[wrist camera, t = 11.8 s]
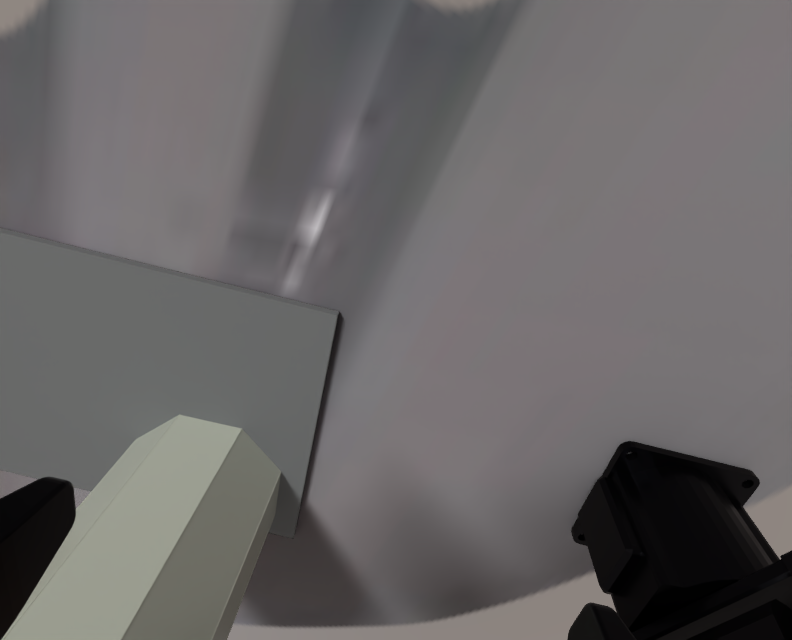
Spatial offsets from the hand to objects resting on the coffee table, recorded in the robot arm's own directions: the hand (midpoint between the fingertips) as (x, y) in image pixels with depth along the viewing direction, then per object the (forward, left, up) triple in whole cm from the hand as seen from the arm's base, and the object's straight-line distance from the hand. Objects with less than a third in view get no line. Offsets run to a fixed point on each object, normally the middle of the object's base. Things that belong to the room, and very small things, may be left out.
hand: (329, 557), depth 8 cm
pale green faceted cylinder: (+7, +13, -13) cm, 19 cm away
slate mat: (+10, +9, -13) cm, 19 cm away
